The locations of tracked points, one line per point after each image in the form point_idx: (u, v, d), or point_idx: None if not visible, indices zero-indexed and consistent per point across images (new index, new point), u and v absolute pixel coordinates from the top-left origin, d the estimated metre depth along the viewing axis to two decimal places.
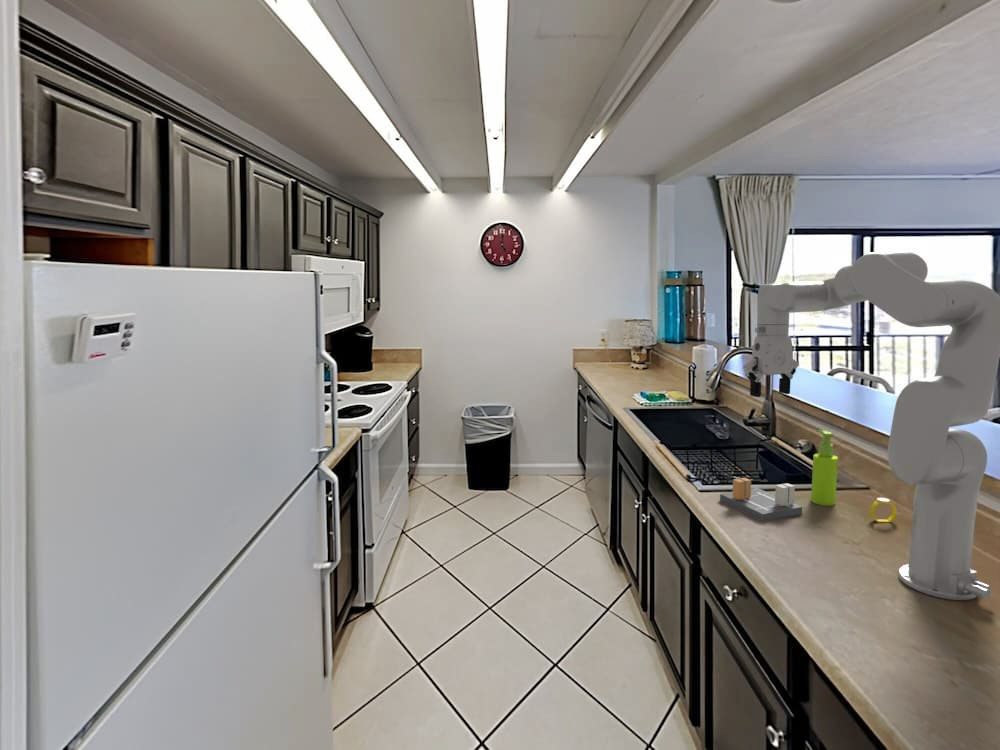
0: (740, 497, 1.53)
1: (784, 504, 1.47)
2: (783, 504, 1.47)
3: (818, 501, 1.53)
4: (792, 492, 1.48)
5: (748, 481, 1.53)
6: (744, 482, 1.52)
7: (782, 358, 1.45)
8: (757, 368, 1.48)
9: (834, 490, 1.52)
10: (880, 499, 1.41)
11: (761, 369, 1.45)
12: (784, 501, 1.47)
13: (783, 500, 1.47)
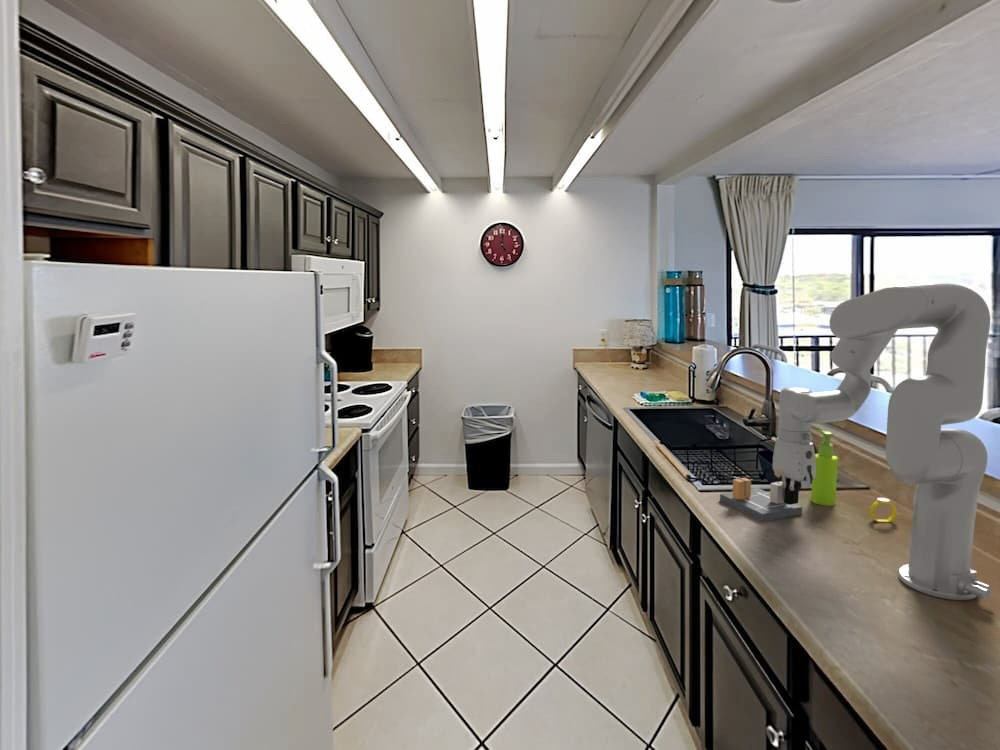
0: (740, 497, 1.53)
1: (779, 502, 1.49)
2: (778, 502, 1.49)
3: (818, 501, 1.53)
4: None
5: (748, 481, 1.53)
6: (744, 482, 1.52)
7: None
8: None
9: (834, 490, 1.52)
10: (880, 499, 1.41)
11: (814, 476, 1.41)
12: (779, 499, 1.49)
13: (778, 498, 1.49)
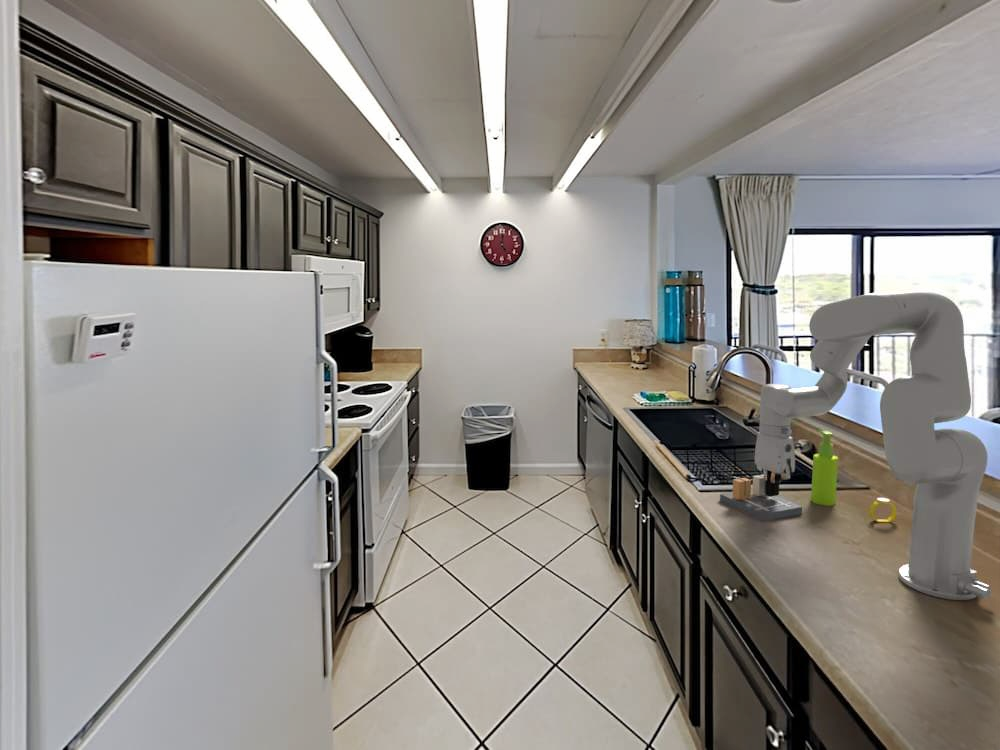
0: (740, 497, 1.53)
1: (761, 494, 1.55)
2: (760, 494, 1.55)
3: (818, 501, 1.53)
4: None
5: (748, 481, 1.53)
6: (744, 482, 1.52)
7: None
8: None
9: (834, 490, 1.52)
10: (880, 499, 1.41)
11: (794, 468, 1.48)
12: (761, 491, 1.55)
13: (760, 490, 1.55)
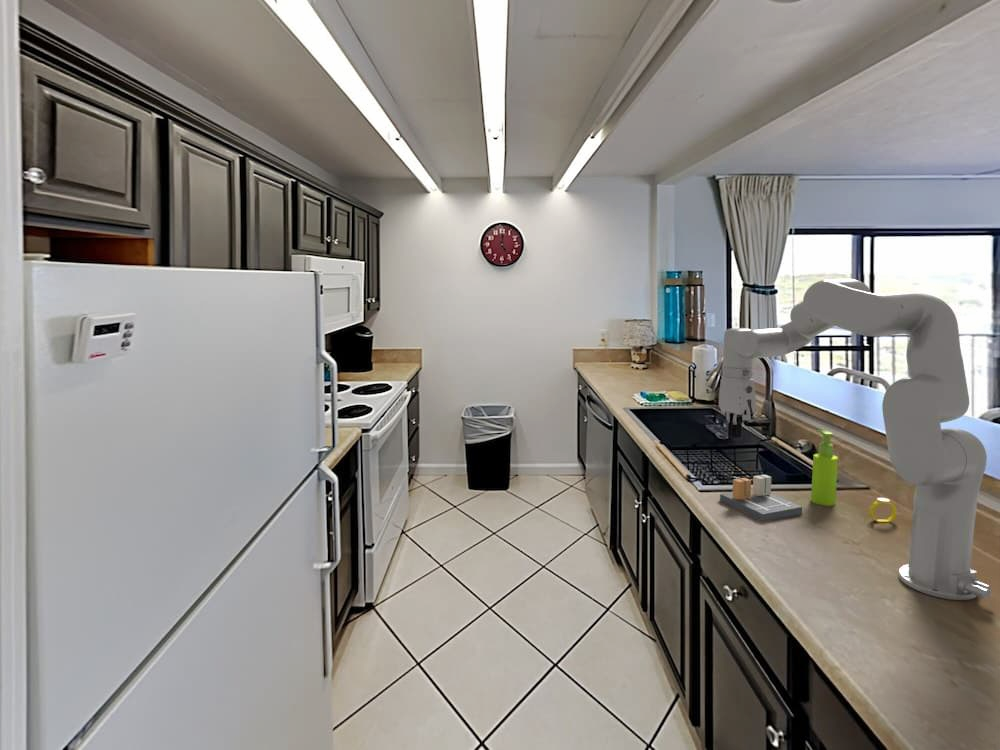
0: (740, 497, 1.53)
1: (761, 494, 1.55)
2: (760, 494, 1.55)
3: (818, 501, 1.53)
4: (769, 483, 1.55)
5: (748, 481, 1.53)
6: (744, 482, 1.52)
7: None
8: None
9: (834, 490, 1.52)
10: (880, 499, 1.41)
11: (754, 410, 1.52)
12: (761, 491, 1.55)
13: (760, 490, 1.55)
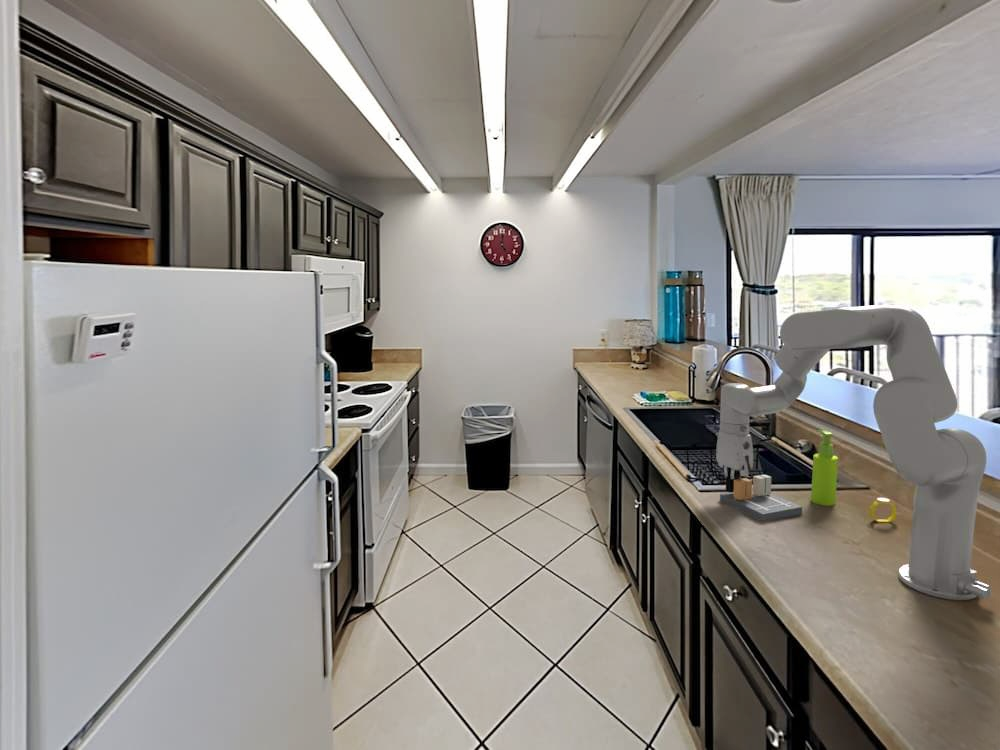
0: (741, 497, 1.52)
1: (761, 494, 1.55)
2: (760, 494, 1.55)
3: (818, 501, 1.53)
4: (769, 483, 1.55)
5: (749, 481, 1.52)
6: (745, 482, 1.52)
7: None
8: None
9: (834, 490, 1.52)
10: (880, 499, 1.41)
11: (752, 465, 1.52)
12: (761, 491, 1.55)
13: (760, 490, 1.55)
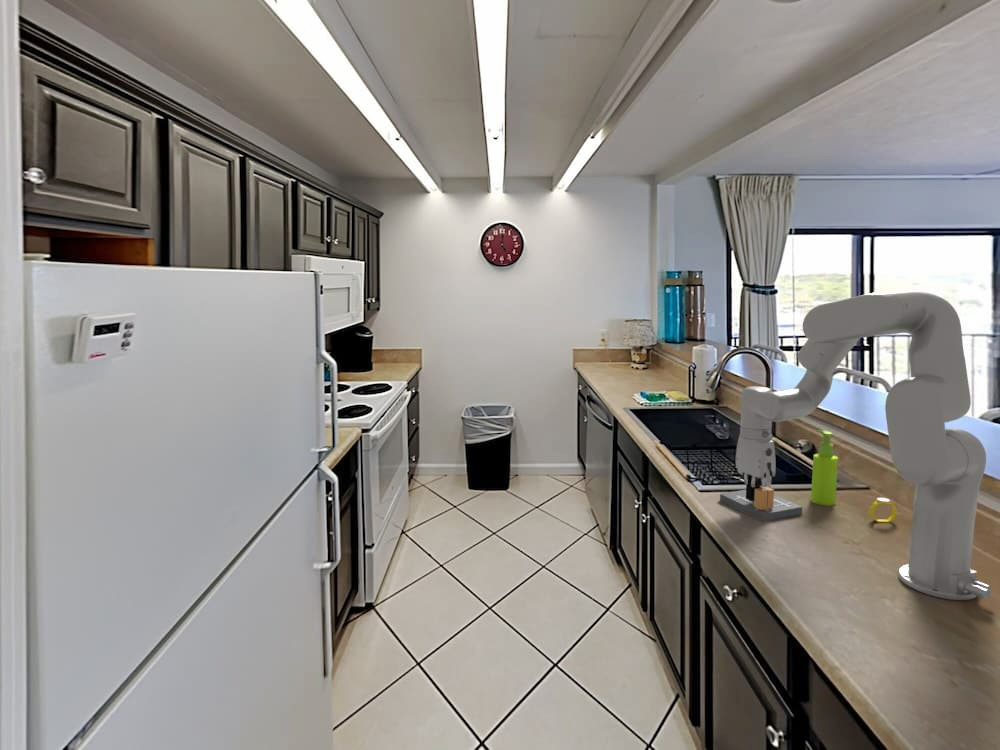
0: (762, 507, 1.45)
1: None
2: None
3: (818, 501, 1.53)
4: (769, 483, 1.55)
5: (771, 490, 1.45)
6: (767, 492, 1.45)
7: None
8: None
9: (834, 490, 1.52)
10: (880, 499, 1.41)
11: (774, 473, 1.45)
12: None
13: None
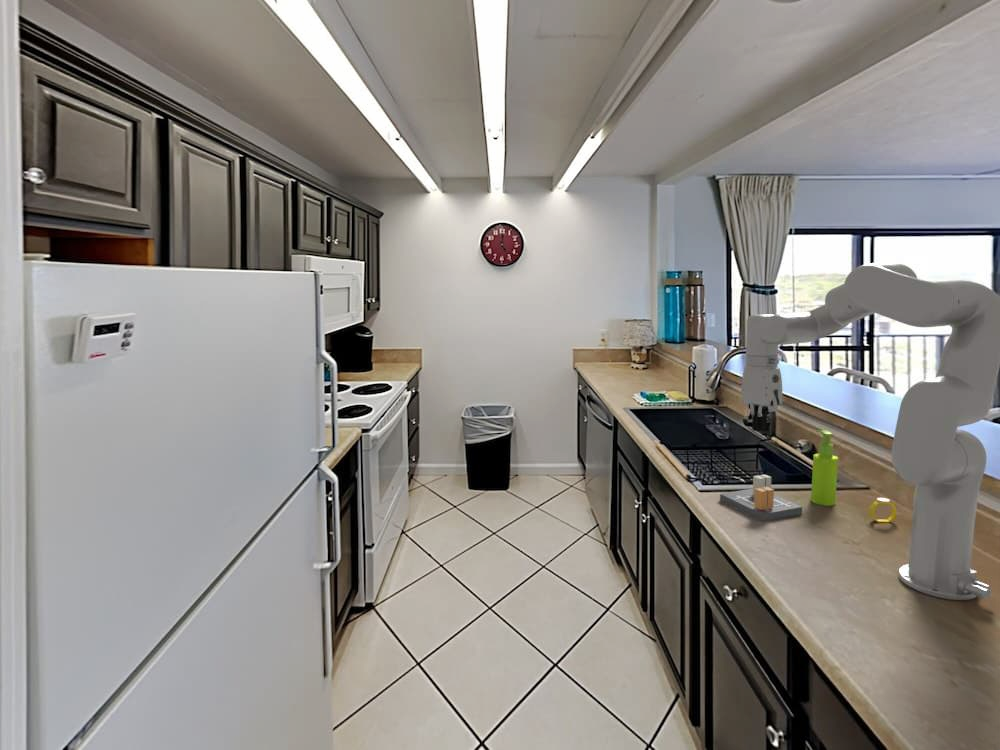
0: (762, 507, 1.45)
1: None
2: None
3: (818, 501, 1.53)
4: (769, 483, 1.55)
5: (771, 490, 1.45)
6: (767, 492, 1.45)
7: None
8: None
9: (834, 490, 1.52)
10: (880, 499, 1.41)
11: (781, 400, 1.43)
12: None
13: None
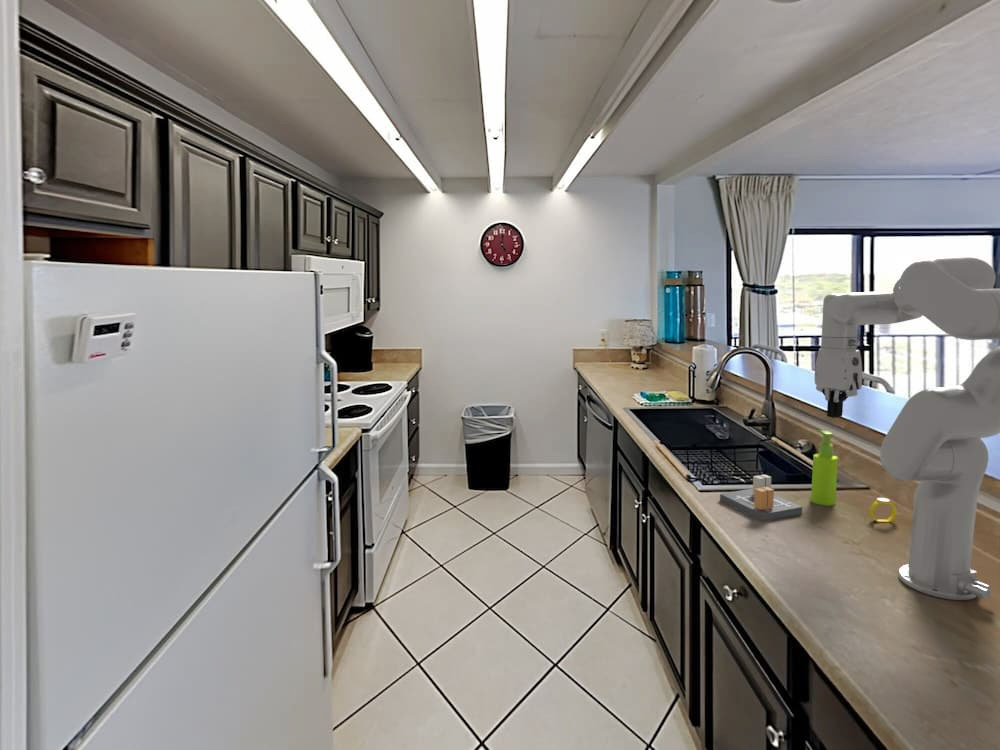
0: (762, 507, 1.45)
1: None
2: None
3: (818, 501, 1.53)
4: (769, 483, 1.55)
5: (771, 490, 1.45)
6: (767, 492, 1.45)
7: None
8: None
9: (834, 490, 1.52)
10: (880, 499, 1.41)
11: (861, 385, 1.35)
12: None
13: None
